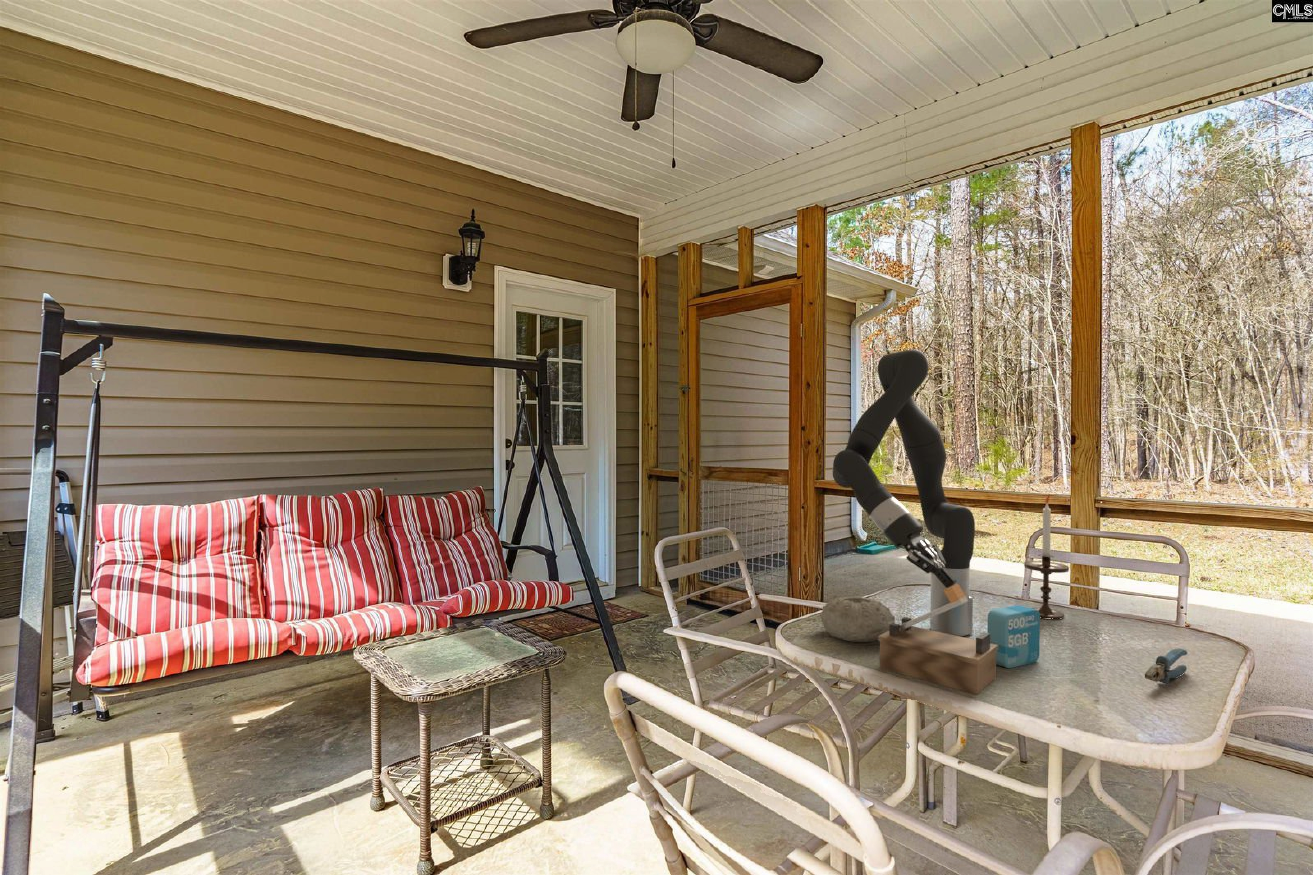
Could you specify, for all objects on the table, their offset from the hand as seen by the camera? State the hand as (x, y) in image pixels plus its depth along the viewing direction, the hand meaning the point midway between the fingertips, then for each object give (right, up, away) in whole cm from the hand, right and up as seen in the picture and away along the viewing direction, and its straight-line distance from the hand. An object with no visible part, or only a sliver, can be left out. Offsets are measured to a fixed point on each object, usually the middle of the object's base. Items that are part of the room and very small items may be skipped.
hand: (952, 585), depth 134 cm
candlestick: (+49, -20, +46) cm, 70 cm away
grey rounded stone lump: (-12, -19, +25) cm, 34 cm away
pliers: (+44, -20, -2) cm, 48 cm away
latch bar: (-3, -8, +3) cm, 9 cm away
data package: (+18, -20, +9) cm, 28 cm away
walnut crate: (-2, -19, +2) cm, 20 cm away
